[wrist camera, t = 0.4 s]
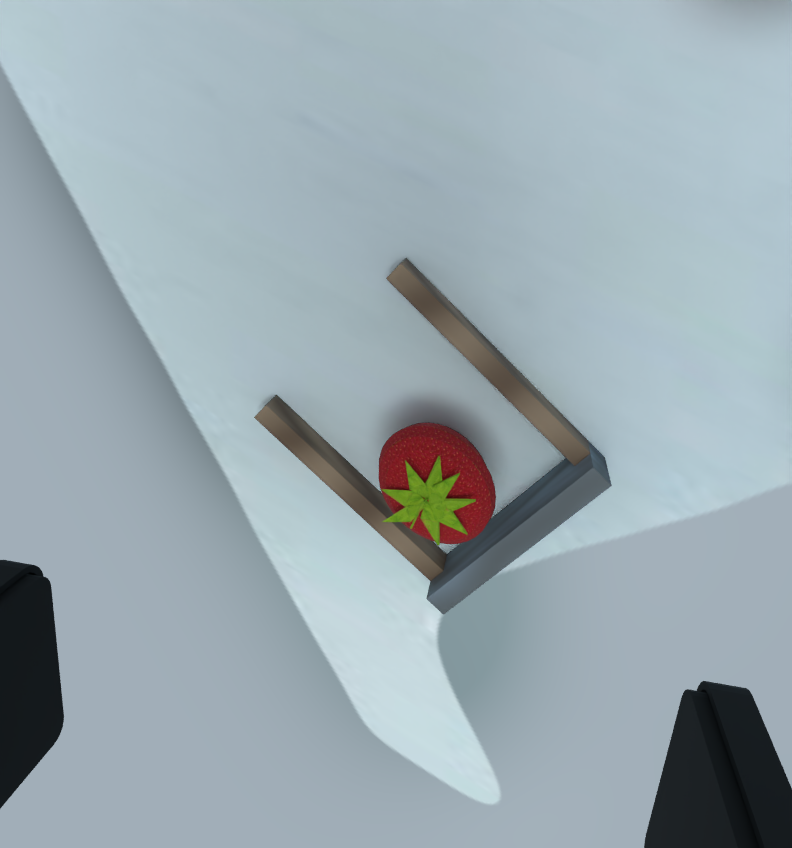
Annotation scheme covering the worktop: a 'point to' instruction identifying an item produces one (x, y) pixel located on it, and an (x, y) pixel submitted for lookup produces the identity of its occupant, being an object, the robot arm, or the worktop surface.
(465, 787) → the worktop surface
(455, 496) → the strawberry
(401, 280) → the frame
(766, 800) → the robot arm
